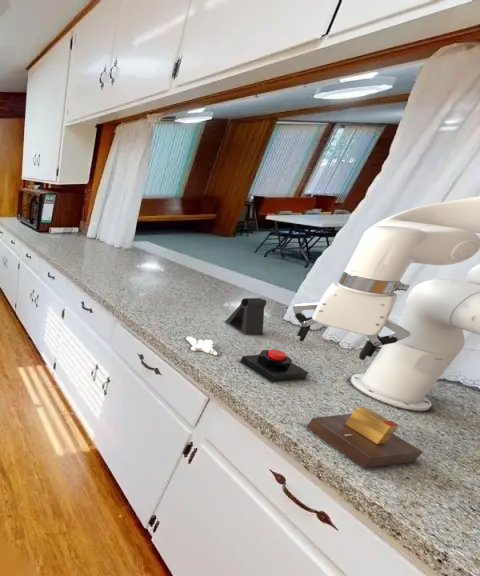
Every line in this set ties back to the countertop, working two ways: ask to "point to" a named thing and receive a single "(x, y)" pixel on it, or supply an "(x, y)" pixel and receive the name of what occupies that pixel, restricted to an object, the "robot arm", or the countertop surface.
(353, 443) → the plate
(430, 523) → the countertop surface
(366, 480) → the countertop surface
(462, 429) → the countertop surface
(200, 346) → the acanthus leaf ornament
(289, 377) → the black button base
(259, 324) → the phone stand
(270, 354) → the button
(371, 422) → the block
